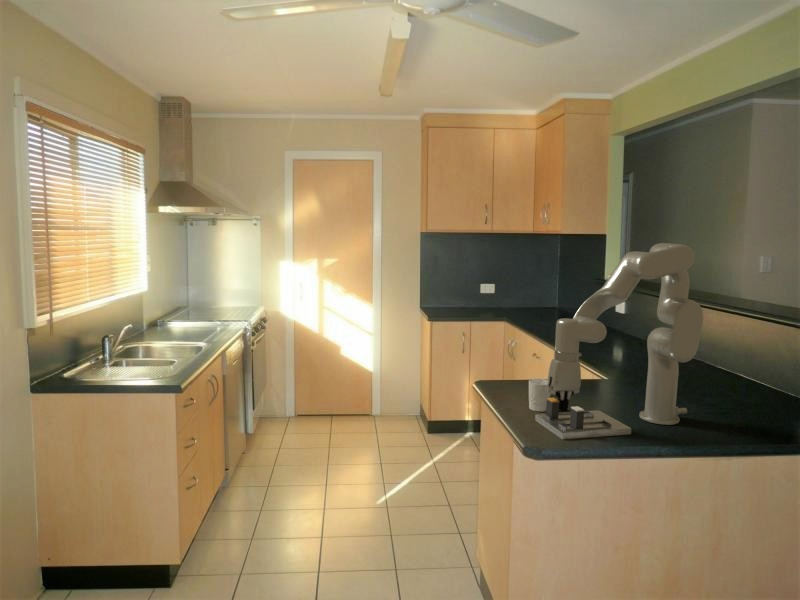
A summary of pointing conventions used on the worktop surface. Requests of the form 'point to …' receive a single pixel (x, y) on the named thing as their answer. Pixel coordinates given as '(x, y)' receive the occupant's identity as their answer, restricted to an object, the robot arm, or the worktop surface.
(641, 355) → the worktop surface
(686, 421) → the worktop surface
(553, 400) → the block
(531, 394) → the white cup
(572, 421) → the fader
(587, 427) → the console
